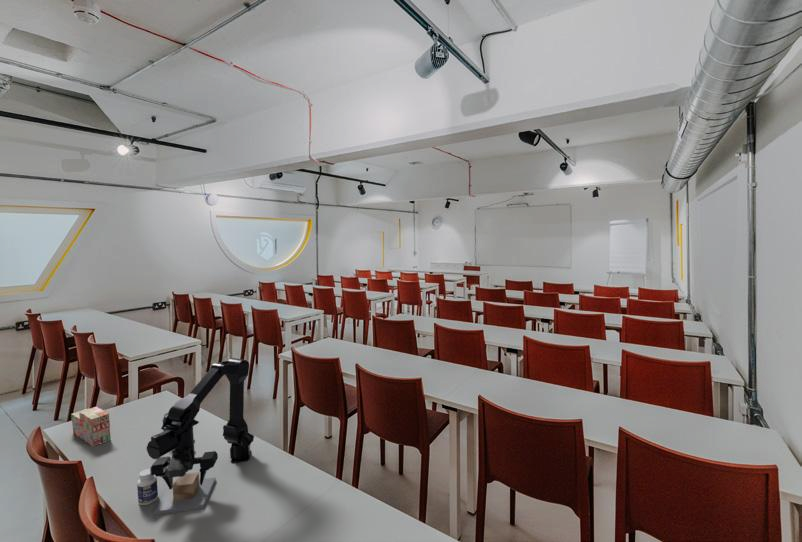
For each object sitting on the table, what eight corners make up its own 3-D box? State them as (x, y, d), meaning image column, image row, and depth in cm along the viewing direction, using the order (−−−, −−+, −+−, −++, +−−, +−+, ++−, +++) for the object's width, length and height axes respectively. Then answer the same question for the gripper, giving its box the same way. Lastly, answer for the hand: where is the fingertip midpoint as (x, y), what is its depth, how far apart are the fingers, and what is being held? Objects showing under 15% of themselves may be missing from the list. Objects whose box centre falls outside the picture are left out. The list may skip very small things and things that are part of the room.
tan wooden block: (199, 486, 127) (198, 472, 127) (193, 497, 122) (192, 483, 121) (180, 488, 126) (179, 474, 126) (173, 500, 120) (172, 486, 120)
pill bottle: (143, 508, 119) (141, 479, 118) (135, 501, 122) (133, 473, 121) (161, 498, 123) (159, 470, 123) (153, 492, 126) (151, 465, 125)
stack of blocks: (72, 433, 165) (70, 407, 164) (89, 427, 170) (87, 401, 169) (93, 447, 154) (91, 418, 153) (111, 440, 160) (109, 412, 158)
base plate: (215, 480, 132) (215, 477, 132) (203, 508, 119) (202, 504, 118) (172, 485, 129) (172, 482, 129) (154, 515, 116) (154, 511, 116)
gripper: (140, 460, 113) (143, 508, 114) (207, 452, 116) (209, 499, 118) (156, 440, 123) (159, 484, 125) (216, 434, 127) (219, 477, 129)
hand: (186, 486), depth 124 cm, fingers open, 9 cm apart
